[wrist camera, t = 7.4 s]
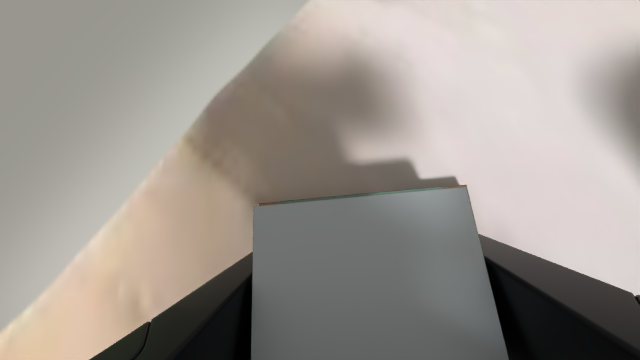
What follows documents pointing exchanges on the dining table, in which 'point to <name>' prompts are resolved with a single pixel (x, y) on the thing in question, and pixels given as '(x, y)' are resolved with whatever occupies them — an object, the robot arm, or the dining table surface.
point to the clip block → (372, 280)
